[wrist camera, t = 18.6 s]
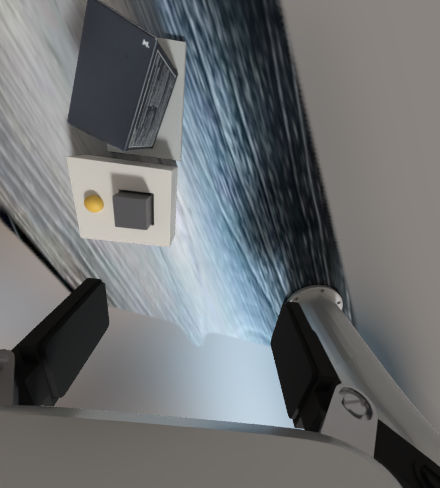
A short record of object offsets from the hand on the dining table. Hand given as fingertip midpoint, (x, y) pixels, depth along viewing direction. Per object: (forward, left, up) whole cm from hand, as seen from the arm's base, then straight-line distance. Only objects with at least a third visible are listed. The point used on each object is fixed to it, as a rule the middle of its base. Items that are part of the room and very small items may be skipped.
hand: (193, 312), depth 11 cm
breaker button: (-2, +10, -25) cm, 28 cm away
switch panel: (-2, +12, -27) cm, 30 cm away
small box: (+12, +10, -27) cm, 31 cm away
